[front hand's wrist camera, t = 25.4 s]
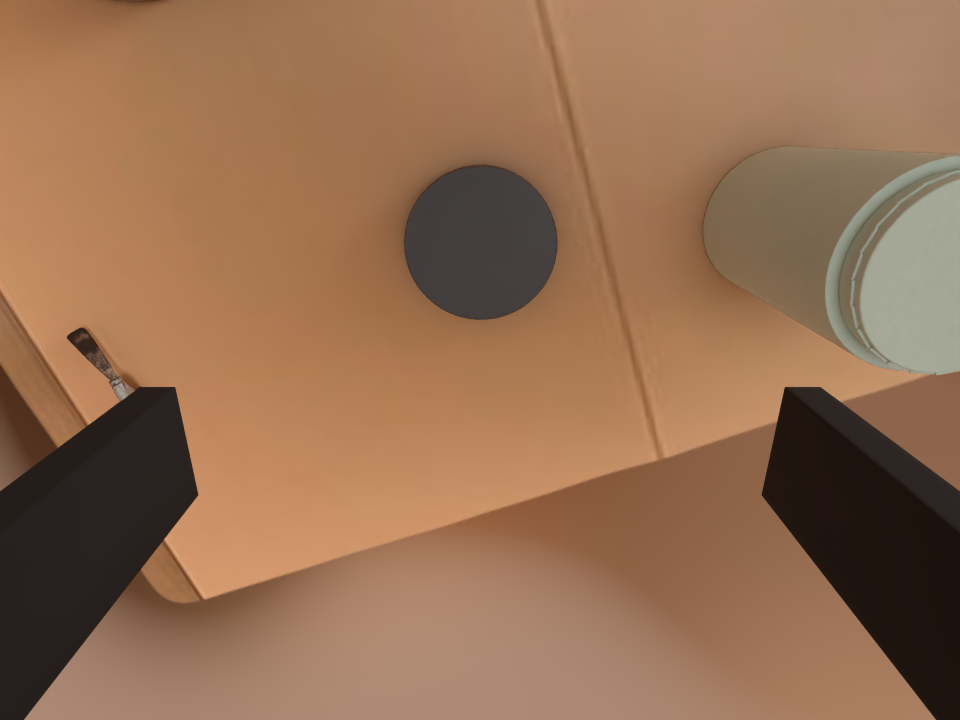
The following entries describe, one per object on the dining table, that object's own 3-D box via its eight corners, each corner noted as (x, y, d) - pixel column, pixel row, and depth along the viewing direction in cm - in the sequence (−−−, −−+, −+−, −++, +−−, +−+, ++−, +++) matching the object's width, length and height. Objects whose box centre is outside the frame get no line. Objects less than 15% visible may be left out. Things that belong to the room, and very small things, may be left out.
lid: (571, 285, 38) (575, 292, 37) (438, 330, 40) (436, 338, 38) (528, 142, 35) (530, 142, 34) (385, 195, 36) (380, 198, 35)
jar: (684, 186, 36) (823, 222, 21) (828, 119, 35) (1081, 111, 20) (724, 310, 39) (870, 417, 24) (858, 254, 38) (1097, 332, 23)
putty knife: (151, 422, 42) (138, 433, 40) (75, 330, 39) (58, 339, 38) (162, 416, 42) (150, 427, 40) (86, 324, 39) (70, 332, 38)
